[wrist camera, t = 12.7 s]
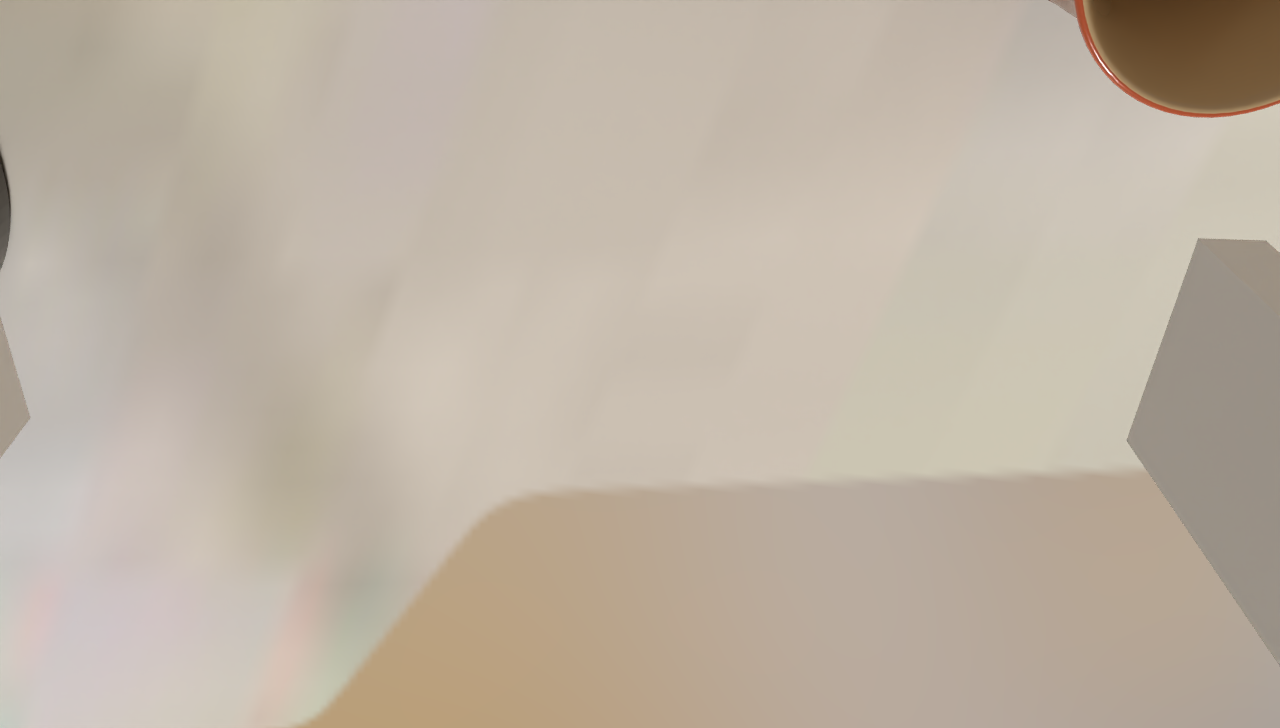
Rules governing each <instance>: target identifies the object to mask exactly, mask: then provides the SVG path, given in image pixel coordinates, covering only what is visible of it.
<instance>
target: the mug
mask: <svg viewBox="0 0 1280 728" xmlns="http://www.w3.org/2000/svg"><path fill="white" fill-rule="evenodd" d="M1049 1H1051V2H1053V3H1055V4H1056V5H1058V6H1059V7H1061V8H1062V9H1064V10H1065V11H1067V12H1068V13H1070V14H1071V15H1073V16H1074V17H1076V18H1077V21H1078V24H1079V28H1080V31H1081V34H1082V36H1083V38H1084V41H1085V43H1086V46H1087V48H1088V49H1089V51H1090V53H1091V55H1092V57H1093V58H1094V60H1095V61H1096V63H1097V64H1098V65H1099V67H1100V68H1101V70H1102V71H1103V72H1104V73H1105V74H1106V76H1107V77H1108V78H1109V79H1110V80H1111V81H1112V82H1113V83H1114V84H1115V85H1116V86H1118V87H1119V88H1120V89H1121V90H1122V91H1124V92H1125V93H1126V94H1128V95H1130V96H1131V97H1133V98H1134V99H1136V100H1137V101H1139V102H1142V103H1144V104H1146V105H1148V106H1150V107H1152V108H1155V109H1158V110H1161V111H1164V112H1168V113H1172V114H1177V115H1181V116H1190V117H1209V118H1214V117H1226V116H1234V115H1240V114H1245V113H1249V112H1253V111H1257V110H1261V109H1264V108H1267V107H1270V106H1273V105H1276V104H1279V103H1280V0H1049Z"/></svg>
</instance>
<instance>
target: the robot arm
mask: <svg viewBox="0 0 1280 728" xmlns="http://www.w3.org/2000/svg"><path fill="white" fill-rule="evenodd" d="M9 232H10V207H9V198H8V191H7V186H6V181H5V177H4V173H3V170H2V166H1V163H0V270H1V268H2V265H3V261H4V258H5V255H6V251H7V246H8V240H9ZM29 419H30V415H29V412H28V408H27V405H26V402H25V398H24V395H23V391H22V388H21V385H20V381H19V378H18V375H17V371H16V368H15V365H14V361H13V358H12V355H11V351H10V348H9V345H8V341H7V338H6V335H5V331H4V328H3V325H2V321H1V318H0V458H1V457H2V455H3V454H4V453H5V451H6V450H7V449H8V447H9V446H10V444H11V443H12V442H13V440H14V439H15V438H16V436H17V435H18V434H19V432H20V431H21V430H22V428H23V427H24V426H25V424H26V423H27V422H28V420H29ZM1127 442H1128V444H1129V445H1130V446H1131V448H1132V449H1133V451H1134V452H1135V454H1136V455H1137V457H1138V458H1139V460H1140V461H1141V463H1142V464H1143V466H1144V467H1145V469H1146V470H1147V471H1148V473H1149V474H1150V476H1151V477H1152V479H1153V480H1154V482H1155V483H1156V484H1157V486H1158V488H1159V489H1160V491H1161V492H1162V493H1163V495H1164V496H1165V498H1166V499H1167V501H1168V502H1169V504H1170V505H1171V507H1172V508H1173V510H1174V511H1175V513H1176V514H1177V516H1178V517H1179V518H1180V520H1181V521H1182V523H1183V524H1184V526H1185V527H1186V529H1187V530H1188V532H1189V533H1190V534H1191V536H1192V538H1193V539H1194V541H1195V542H1196V544H1197V545H1198V546H1199V548H1200V549H1201V551H1202V552H1203V554H1204V555H1205V557H1206V558H1207V560H1208V561H1209V562H1210V564H1211V565H1212V567H1213V569H1214V570H1215V571H1216V573H1217V574H1218V576H1219V577H1220V579H1221V580H1222V582H1223V583H1224V585H1225V586H1226V588H1227V589H1228V590H1229V592H1230V593H1231V595H1232V596H1233V598H1234V599H1235V601H1236V602H1237V604H1238V605H1239V607H1240V608H1241V609H1242V611H1243V612H1244V614H1245V616H1246V617H1247V618H1248V620H1249V621H1250V623H1251V624H1252V626H1253V627H1254V629H1255V630H1256V632H1257V633H1258V635H1259V636H1260V638H1261V639H1262V641H1263V642H1264V644H1265V645H1266V646H1267V648H1268V649H1269V651H1270V652H1271V654H1272V655H1273V657H1274V658H1275V660H1276V661H1277V663H1278V664H1279V665H1280V253H1279V252H1278V251H1277V250H1276V249H1275V248H1274V247H1272V246H1271V245H1270V244H1269V243H1268V242H1267V241H1262V240H1230V239H1199V238H1198V241H1197V244H1196V247H1195V249H1194V252H1193V255H1192V258H1191V261H1190V263H1189V266H1188V269H1187V272H1186V275H1185V277H1184V280H1183V283H1182V286H1181V289H1180V292H1179V294H1178V297H1177V300H1176V303H1175V306H1174V308H1173V311H1172V314H1171V317H1170V320H1169V322H1168V325H1167V328H1166V331H1165V334H1164V337H1163V339H1162V342H1161V345H1160V348H1159V351H1158V353H1157V356H1156V359H1155V362H1154V365H1153V367H1152V370H1151V373H1150V376H1149V379H1148V381H1147V384H1146V387H1145V390H1144V393H1143V396H1142V398H1141V401H1140V404H1139V407H1138V410H1137V412H1136V415H1135V418H1134V421H1133V424H1132V426H1131V429H1130V432H1129V435H1128V438H1127Z"/></svg>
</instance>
